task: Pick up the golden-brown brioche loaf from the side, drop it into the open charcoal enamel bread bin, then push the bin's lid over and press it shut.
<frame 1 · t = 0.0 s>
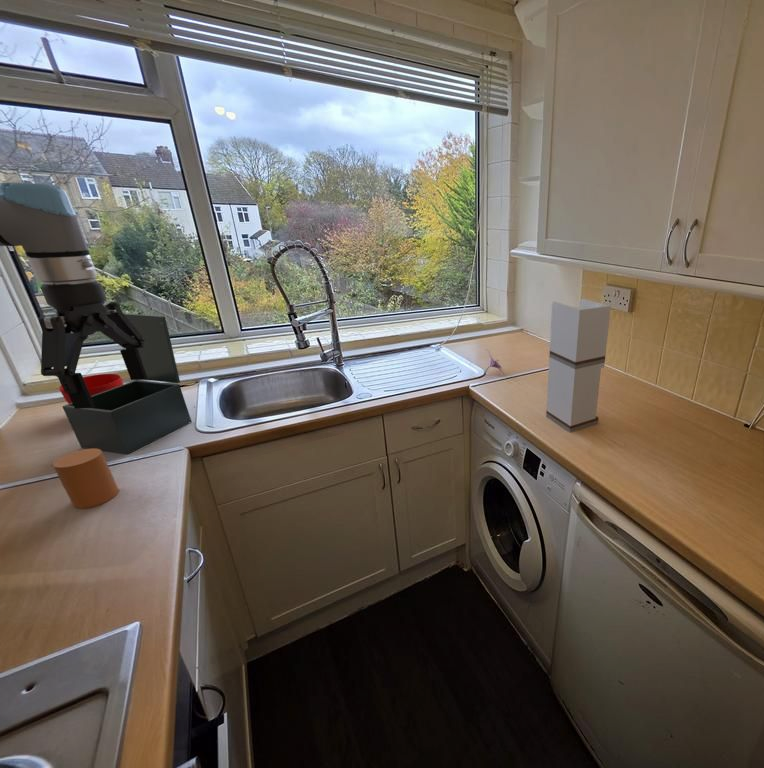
hand: (114, 392, 79), 23 cm above the worktop, tool pointing down, fingers open, 13 cm apart
ceramic cup: (101, 415, 120), on the worktop
white tall square block: (571, 420, 122), on the worktop
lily: (494, 374, 156), on the worktop
bin lid: (149, 348, 111), point 21 cm above the worktop, hinge at 95.0°
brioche: (96, 497, 86), on the worktop
bread bin: (139, 434, 110), on the worktop
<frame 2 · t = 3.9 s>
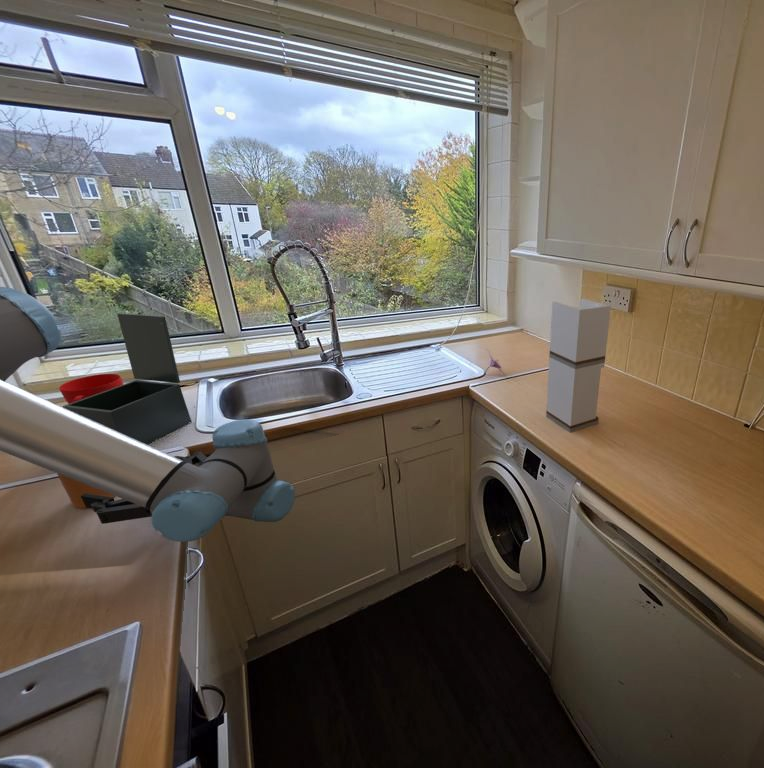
hand: (123, 478, 82), 6 cm above the worktop, tool horizontal, fingers open, 13 cm apart
nothing on the worktop moved.
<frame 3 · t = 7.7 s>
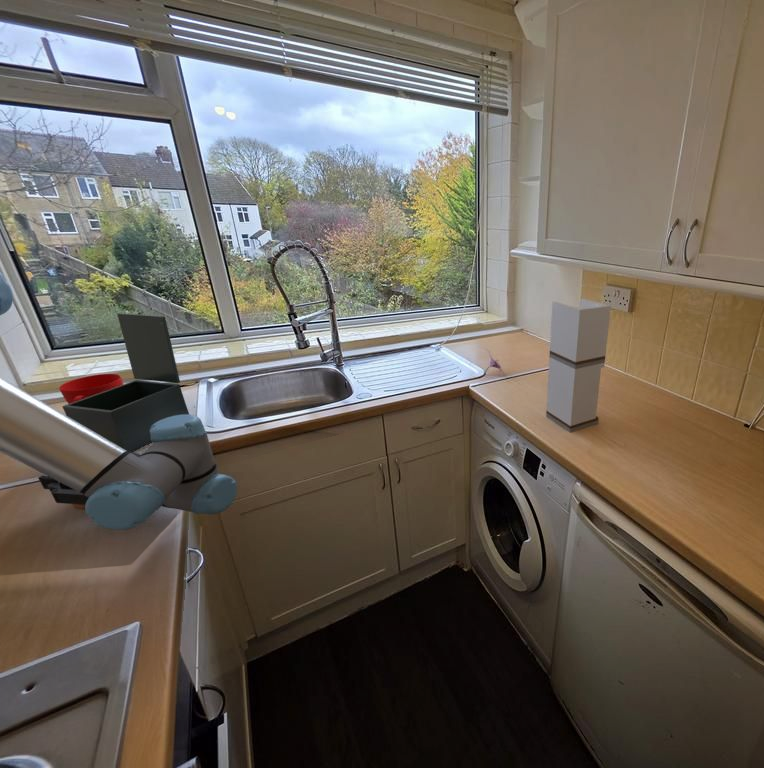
hand: (66, 471, 84), 6 cm above the worktop, tool horizontal, fingers closed on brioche, 7 cm apart
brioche: (96, 497, 86), on the worktop, touching gripper
everything else where it was.
when the fingers open (15 cm above the worktop, at t = 16.7 s): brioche drops 9 cm, resting on bread bin.
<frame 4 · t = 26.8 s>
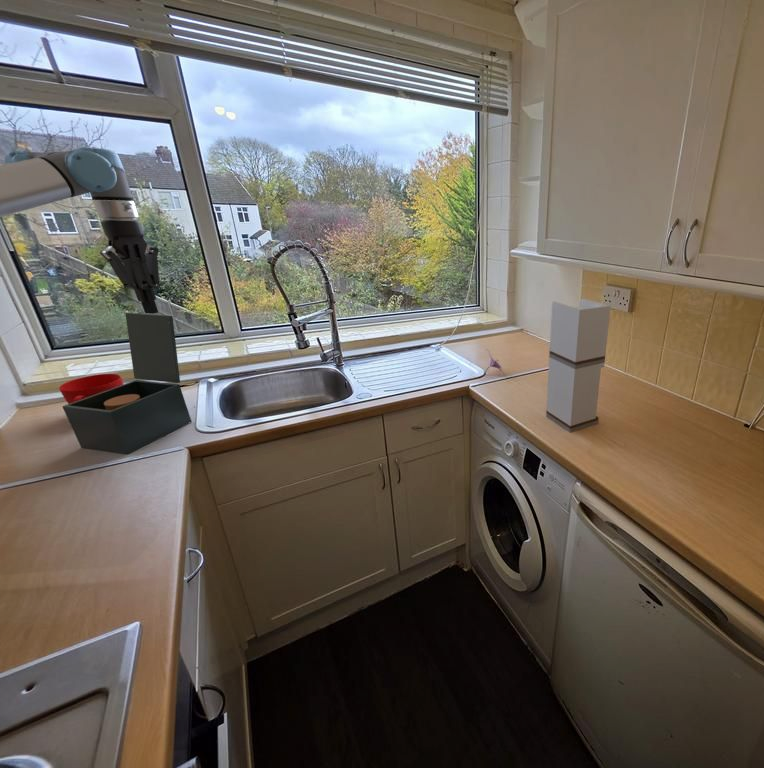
hand: (151, 312, 110), 31 cm above the worktop, tool pointing down, fingers closed
bin lid: (153, 347, 112), point 21 cm above the worktop, hinge at 101.3°, touching gripper
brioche: (135, 433, 109), point 1 cm above the worktop, touching bread bin
everything else where it was.
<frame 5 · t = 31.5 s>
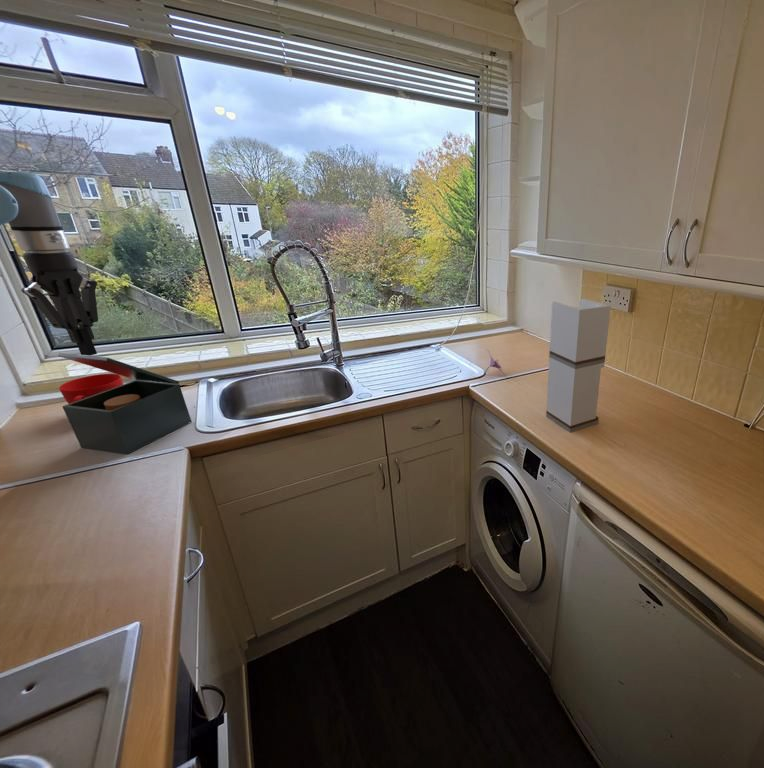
hand: (89, 354, 97), 24 cm above the worktop, tool pointing down, fingers closed
bin lid: (122, 369, 105), point 18 cm above the worktop, hinge at 39.7°, touching gripper
everything else where it was.
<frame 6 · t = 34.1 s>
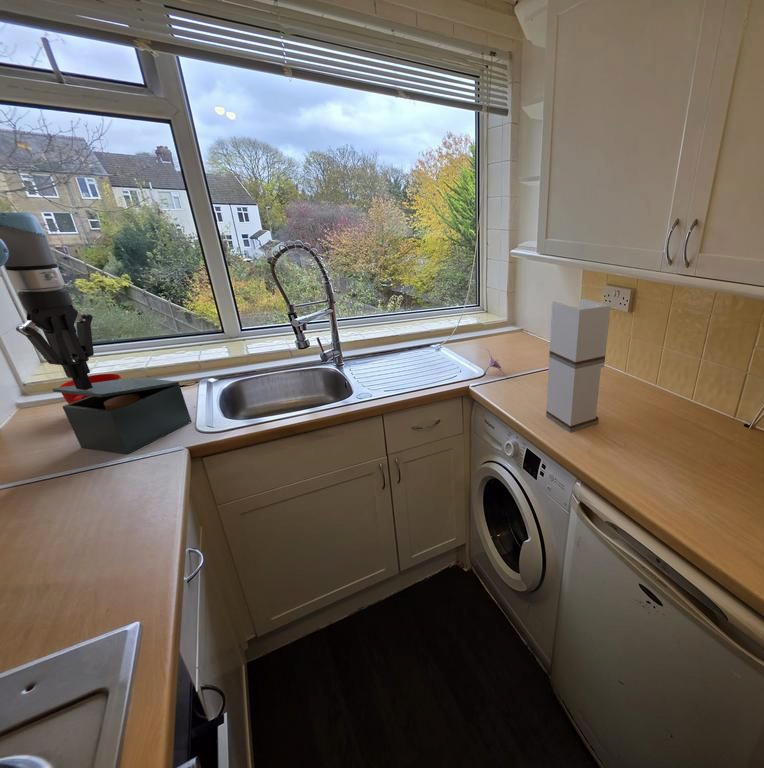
hand: (84, 388, 97), 17 cm above the worktop, tool pointing down, fingers closed
bin lid: (120, 386, 105), point 14 cm above the worktop, hinge at 12.6°, touching gripper
everything else where it was.
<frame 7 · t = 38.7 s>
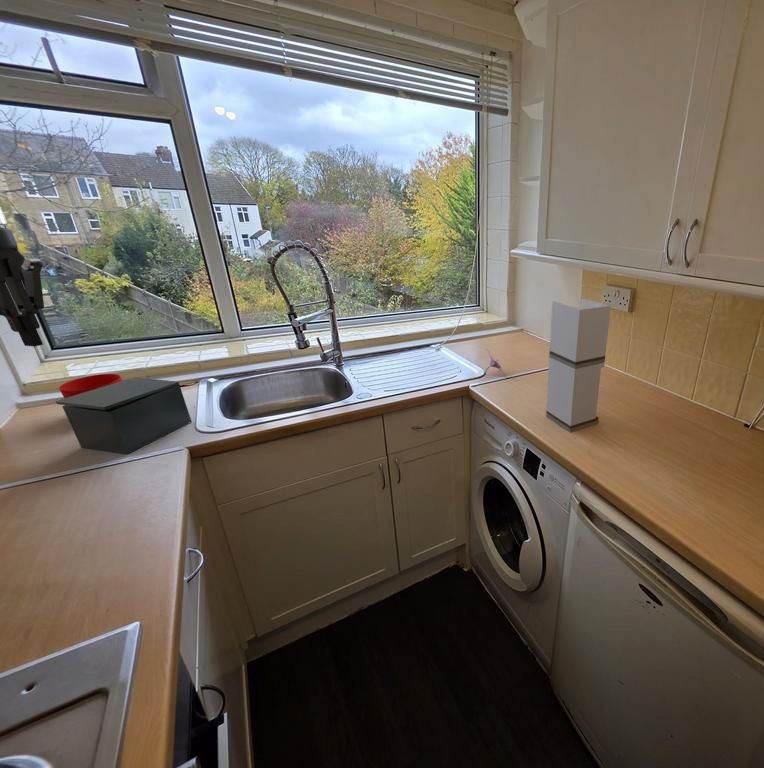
hand: (34, 345, 87), 29 cm above the worktop, tool pointing down, fingers closed
bin lid: (121, 392, 105), point 13 cm above the worktop, hinge at 2.8°
everything else where it was.
at the end: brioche inside the target area in the bread bin (1.0 cm from its centre), point 0.8 cm above the bread bin's base; bin lid at +3° (first picture: +95°) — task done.
